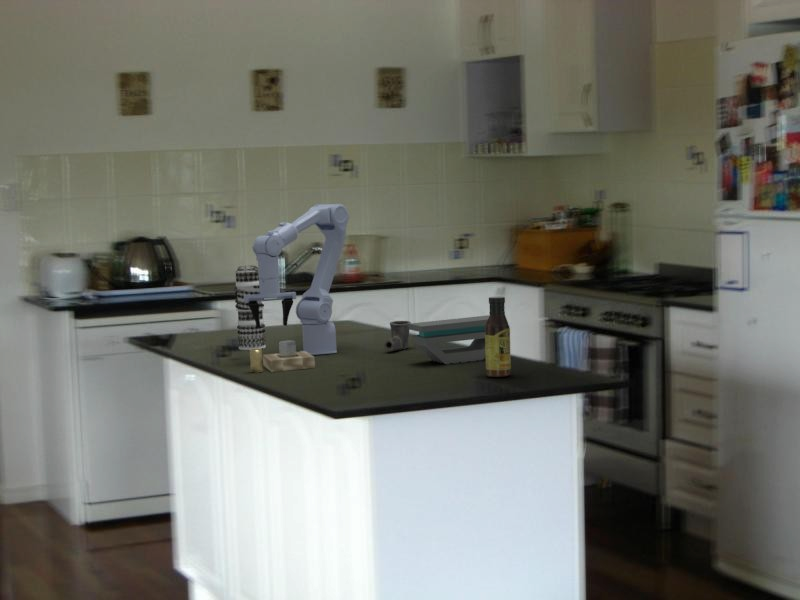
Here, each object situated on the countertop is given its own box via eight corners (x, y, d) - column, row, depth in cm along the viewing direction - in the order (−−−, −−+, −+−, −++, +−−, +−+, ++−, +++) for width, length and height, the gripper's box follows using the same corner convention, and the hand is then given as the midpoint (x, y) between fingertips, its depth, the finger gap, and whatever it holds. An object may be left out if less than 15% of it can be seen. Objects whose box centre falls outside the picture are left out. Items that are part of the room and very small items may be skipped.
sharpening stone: (423, 367, 335) (421, 326, 334) (410, 363, 342) (408, 323, 341) (504, 357, 346) (503, 317, 345) (490, 353, 353) (489, 315, 352)
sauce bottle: (503, 378, 312) (501, 298, 310) (481, 377, 316) (478, 298, 313) (515, 374, 318) (513, 295, 316) (493, 373, 321) (491, 295, 319)
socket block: (305, 361, 353) (305, 351, 353) (315, 367, 341) (314, 356, 341) (263, 365, 350) (262, 354, 349) (271, 371, 338) (270, 360, 338)
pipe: (380, 353, 362) (378, 326, 362) (396, 347, 374) (395, 320, 373) (399, 354, 360) (398, 326, 359) (416, 347, 372) (414, 320, 371)
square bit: (289, 365, 348) (287, 340, 347) (296, 366, 346) (295, 341, 345) (280, 367, 346) (278, 341, 345) (287, 368, 343) (286, 342, 343)
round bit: (261, 370, 341) (260, 348, 340) (263, 372, 338) (262, 350, 337) (250, 371, 340) (248, 349, 340) (252, 373, 337) (250, 351, 337)
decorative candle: (263, 344, 391) (259, 264, 388) (270, 348, 382) (265, 266, 379) (234, 347, 388) (229, 266, 385) (240, 351, 379) (235, 268, 376)
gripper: (291, 275, 360) (294, 322, 361) (241, 278, 356) (243, 326, 357) (296, 277, 353) (299, 325, 354) (245, 280, 349) (247, 329, 350)
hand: (271, 326), depth 355 cm, fingers open, 7 cm apart
